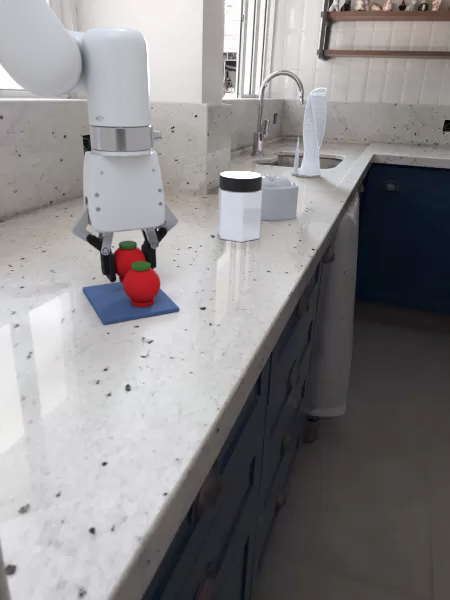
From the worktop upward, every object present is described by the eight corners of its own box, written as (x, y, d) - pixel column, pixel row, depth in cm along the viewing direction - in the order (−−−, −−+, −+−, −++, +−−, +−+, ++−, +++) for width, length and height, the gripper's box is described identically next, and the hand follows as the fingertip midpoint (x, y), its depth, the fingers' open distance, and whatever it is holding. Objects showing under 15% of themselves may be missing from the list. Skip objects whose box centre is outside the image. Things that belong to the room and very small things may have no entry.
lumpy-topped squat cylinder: (244, 207, 119) (245, 172, 115) (297, 211, 117) (300, 175, 113) (237, 217, 109) (238, 179, 106) (294, 222, 107) (297, 182, 104)
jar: (266, 234, 98) (270, 173, 93) (252, 244, 91) (255, 180, 86) (226, 228, 101) (227, 169, 96) (209, 237, 94) (210, 175, 90)
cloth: (103, 325, 59) (103, 321, 59) (82, 290, 69) (82, 287, 69) (179, 311, 63) (179, 307, 63) (149, 280, 73) (149, 277, 73)
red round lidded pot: (130, 312, 61) (128, 272, 59) (120, 299, 65) (117, 260, 63) (166, 306, 63) (165, 267, 61) (153, 293, 67) (152, 256, 65)
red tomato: (118, 288, 65) (115, 250, 63) (108, 277, 69) (105, 240, 67) (151, 283, 67) (150, 245, 65) (141, 272, 71) (139, 236, 69)
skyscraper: (307, 173, 172) (316, 87, 160) (325, 176, 166) (335, 87, 155) (291, 175, 167) (298, 86, 155) (309, 178, 161) (318, 87, 150)
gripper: (173, 136, 67) (176, 260, 75) (46, 139, 60) (62, 276, 67) (195, 142, 61) (195, 276, 68) (56, 146, 54) (73, 295, 61)
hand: (129, 274), depth 68 cm, fingers closed on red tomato, 4 cm apart
